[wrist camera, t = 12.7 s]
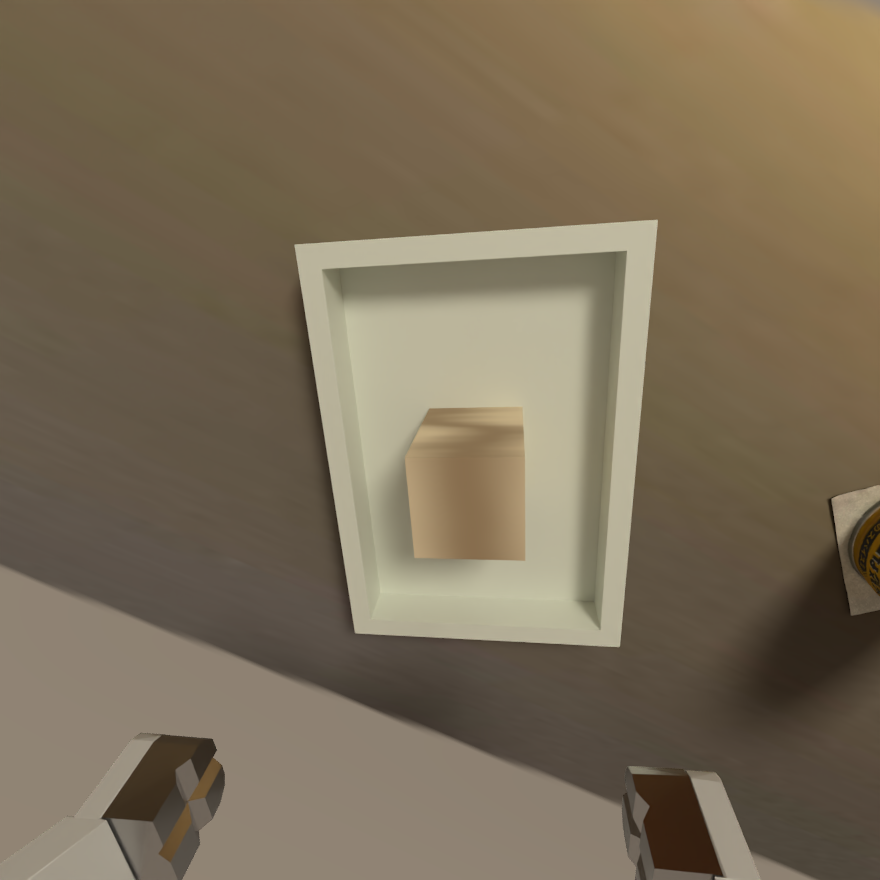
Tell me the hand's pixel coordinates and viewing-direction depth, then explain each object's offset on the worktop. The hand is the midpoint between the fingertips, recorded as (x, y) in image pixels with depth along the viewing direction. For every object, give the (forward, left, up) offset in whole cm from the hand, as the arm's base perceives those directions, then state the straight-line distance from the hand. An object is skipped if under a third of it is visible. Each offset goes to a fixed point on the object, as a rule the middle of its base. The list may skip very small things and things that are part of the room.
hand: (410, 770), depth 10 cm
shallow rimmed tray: (0, 0, -17) cm, 17 cm away
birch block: (0, 0, -17) cm, 17 cm away
